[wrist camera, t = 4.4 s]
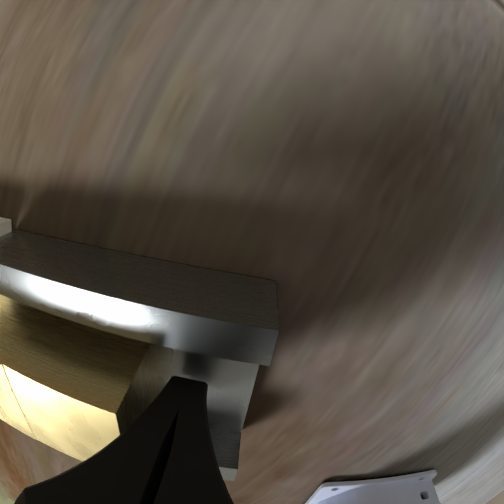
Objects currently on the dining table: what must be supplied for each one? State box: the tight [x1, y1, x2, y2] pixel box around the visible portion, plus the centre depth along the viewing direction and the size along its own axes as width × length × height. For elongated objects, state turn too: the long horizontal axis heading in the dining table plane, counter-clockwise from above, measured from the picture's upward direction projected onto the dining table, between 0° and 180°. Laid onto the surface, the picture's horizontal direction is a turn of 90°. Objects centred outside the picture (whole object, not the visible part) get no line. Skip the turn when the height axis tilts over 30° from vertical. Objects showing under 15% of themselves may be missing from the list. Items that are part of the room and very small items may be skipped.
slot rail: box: [0, 229, 279, 481], centre depth 10 cm, size 11×8×3 cm
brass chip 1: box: [0, 294, 52, 440], centre depth 9 cm, size 4×4×4 cm
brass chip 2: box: [2, 314, 158, 461], centre depth 9 cm, size 4×4×4 cm
